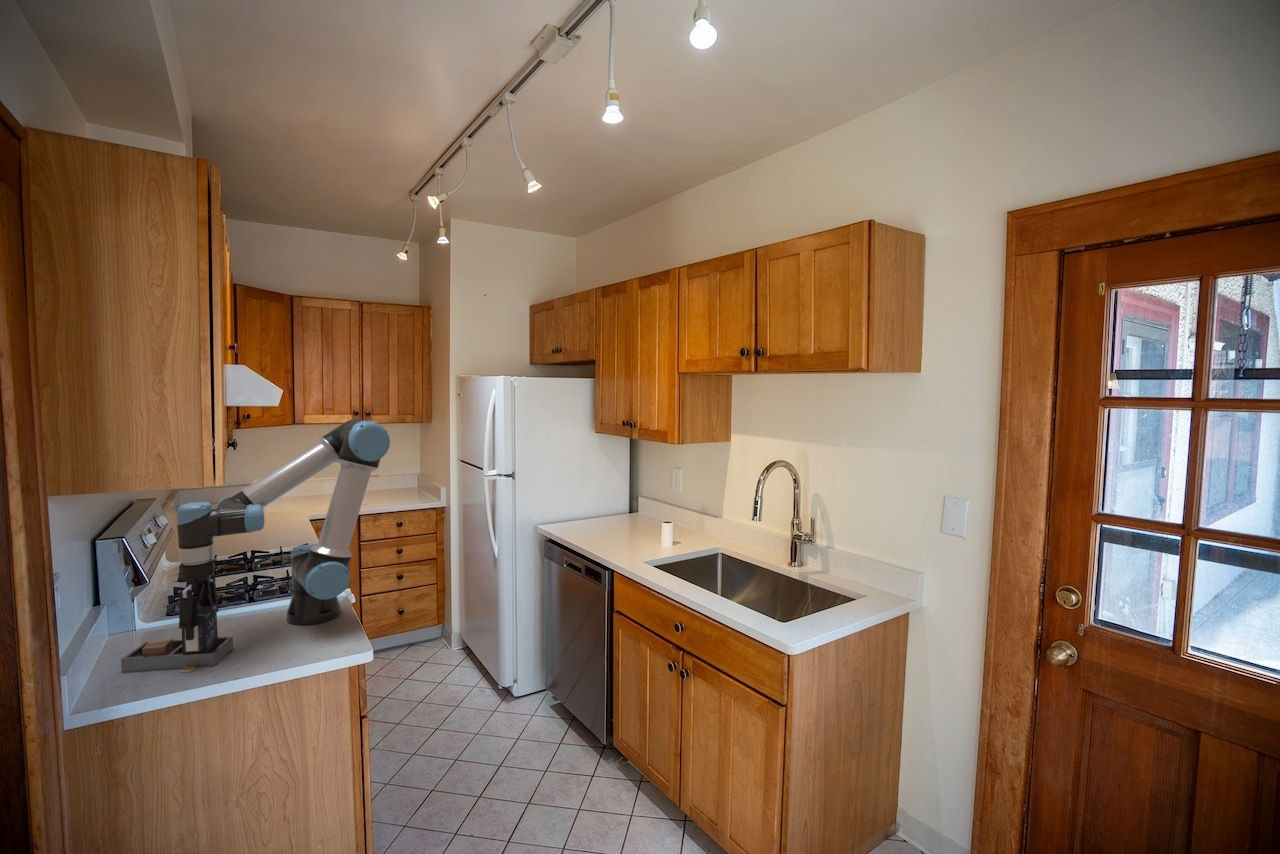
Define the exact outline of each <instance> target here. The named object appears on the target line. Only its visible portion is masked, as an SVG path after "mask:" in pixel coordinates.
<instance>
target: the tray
mask: <svg viewBox="0 0 1280 854" xmlns="http://www.w3.org/2000/svg"><path fill="white" fill-rule="evenodd" d="M149 641H150V640H149ZM149 641H145V642H143V643H141V644H140V645H139V646H137V647H136V648H135V649H133V650H132V651H130V652H129V653H128V654H126V655H124V656H123V657H122V658H121V659H120V663H121V664H120V666H121V672H122V673H129V672H143V671H144V672H145V671H146V672H147V671H158V670H159V671H160V670H173V669H174V670H175V669H180V673H192V672H193V671H194V670H195V669H196V668H205V667H216V665H218V664H219V663H220V662H221V661H222V660H223V659H224V658H225V657H226V656H227V655H229V654H230V653H231V652H232V650H234V636H218V641H217V642H216V643H215V644H214V645H213V646H212V647H211V648H210V649H209V650H208V651H207V652H206V653H190V654H182V638H181V639H172V647H173V651H172V652H171V653H170V654H169V655H157V656H142V648H143V647H144V646H145V645H146V644H147V643H148V642H149Z"/></svg>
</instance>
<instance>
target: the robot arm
mask: <svg viewBox="0 0 1280 854" xmlns="http://www.w3.org/2000/svg"><path fill="white" fill-rule="evenodd" d="M389 435H390V434H389V433H388V431H387V430H386V429H385V427H384V426H382V425H381V424H379V423H378V422H375V421H373V420H364V419H359V418H355V419H354V418H352V419H350V420H347V421H345V422H343V423H342V424H341V423H340V425H338V426H336V427H335V428H334V429H332V430H331V431H330V432H328V433H326V434H324V435H323V436H321V437H320V440H319V442H318V443H316V444H315V445H313V446H312V447H310V448H308V449H306V450H305V451H304V452H301V453H300V454H298V455H297V456H295V457H294V458H292V459H291V460H289V461H287V462H285V463H284V464H283V465H280V466H279V467H277V468H276V469H274V470H273V471H271V472H269V473H268V474H266V475H265V476H263V477H262V478H260V479H258V480H256V481H255V482H253V483H251V484H250V485H248V486H247V487H245V488H244V489H242V490H240V491H239V492H237V493H236V494H234V495H232V496H227V497H224V498H223V499H221V500H220V501H218V503H217V505H216V506H215V508H213V507H212V504H211V503H210V502H207V501H199V502H197V501H194V502H188V503H185V504H181V505H180V506H178V508H177V509H176V510H177V511H176V528H177V529H176V530H177V542H178V550H177V553H178V556H179V557H178V560H179V563H180V564H179V577H180V579H184V580H186V582H185V583H186V584H185V588H184V589H180V590H179V592H178V595H179V617H178V619H179V621H178V628H179V629H181V630H182V628H185V642H186V652H187V651H198V650H199V641H198V626H195V625H196V619H197V613H198V607H199V606H207V605H216V609H217V613H218V612H219V599H218V591H217V585H216V574H214V573H215V560H214V559H213V558H214V557H215V551H214V541H213V540H214V537H215V538H216V537H224V536H231V535H239V534H250V533H255V532H259V531H261V530H263V529H264V527H265V511H264V508H265V507H266V506H268V505H270V504H272V503H273V502H275V501H276V500H277V499H279V498H280V497H282V496H284V495H285V494H287V493H288V492H290V491H292V490H293V489H294V488H296V487H297V486H299V485H301V484H302V483H304V482H305V481H307V480H309V479H310V478H312V477H313V476H315V475H316V474H318V473H320V472H321V471H323V470H324V469H326V468H328V467H329V466H330V465H332V464H333V463H339V464H340V465H341V466H340V470H339V473H338V476H337V479H336V483H335V485H334V489H333V492H332V496H331V499H330V502H329V505H328V508H327V512H326V516H325V518H324V522H323V525H322V527H321V531H320V535H319V539H318V541H317V543H310V544H304V545H299V546H296V547H293V548H292V549H291V551H290V552H291V553H290V563H291V564H290V565H291V587H292V591H291V592H292V595H291V599H290V602H289V606H288V608H287V611H286V621H287V623H289V624H292V625H298V626H305V625H306V626H308V625H309V626H310V625H315V624H321V623H324V622H327V621H331V620H333V619H334V618H337V617H339V615H340V614H341V603H340V601H339V598H338V596H340V595H341V594H343V593H344V591H345V590H347V588H348V586H349V583H350V581H351V573H350V569H349V566H350V563H351V560H352V557H353V555H352V552H351V551H350V549H349V548H350V545H351V541H352V538H353V534H354V532H355V528H356V524H357V521H358V517H359V515H360V512H361V507H362V504H363V501H364V497H365V494H366V491H367V487H368V485H369V482H370V481H369V480H370V477H371V474H372V473H373V472H374V471H376V470H378V469H379V467H380V463H381V459H382V458H384V456H386V455H387V453H388V451H389V450H390V447H391V445H390V444H391V439H390V438H391V437H390V436H389Z"/></svg>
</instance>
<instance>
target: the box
mask: <svg viewBox="0 0 1280 854" xmlns="http://www.w3.org/2000/svg"><path fill="white" fill-rule="evenodd" d="M217 615H218V612H217V609H216V605H207V606H202V605H199V607H198V613H197V619H196V625H195V626H198V641H199V650H198V651H187V652H186V642H185V628H181V639H182V654H190V653H206V652H209V651H208V650H209V649H210V648H211V647H212V646H213V645H214V644H215V643H216V642H217V641H218V637H219V635H218V616H217Z"/></svg>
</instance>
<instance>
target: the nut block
mask: <svg viewBox="0 0 1280 854" xmlns="http://www.w3.org/2000/svg"><path fill="white" fill-rule="evenodd" d="M172 640H173V638H167V639H156V640H149V642H148V643H147V644H146V645H145V646H144V647H143V648H142V656H157V655H169V654H170V653H171V652H172V651H173V647H172Z"/></svg>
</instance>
